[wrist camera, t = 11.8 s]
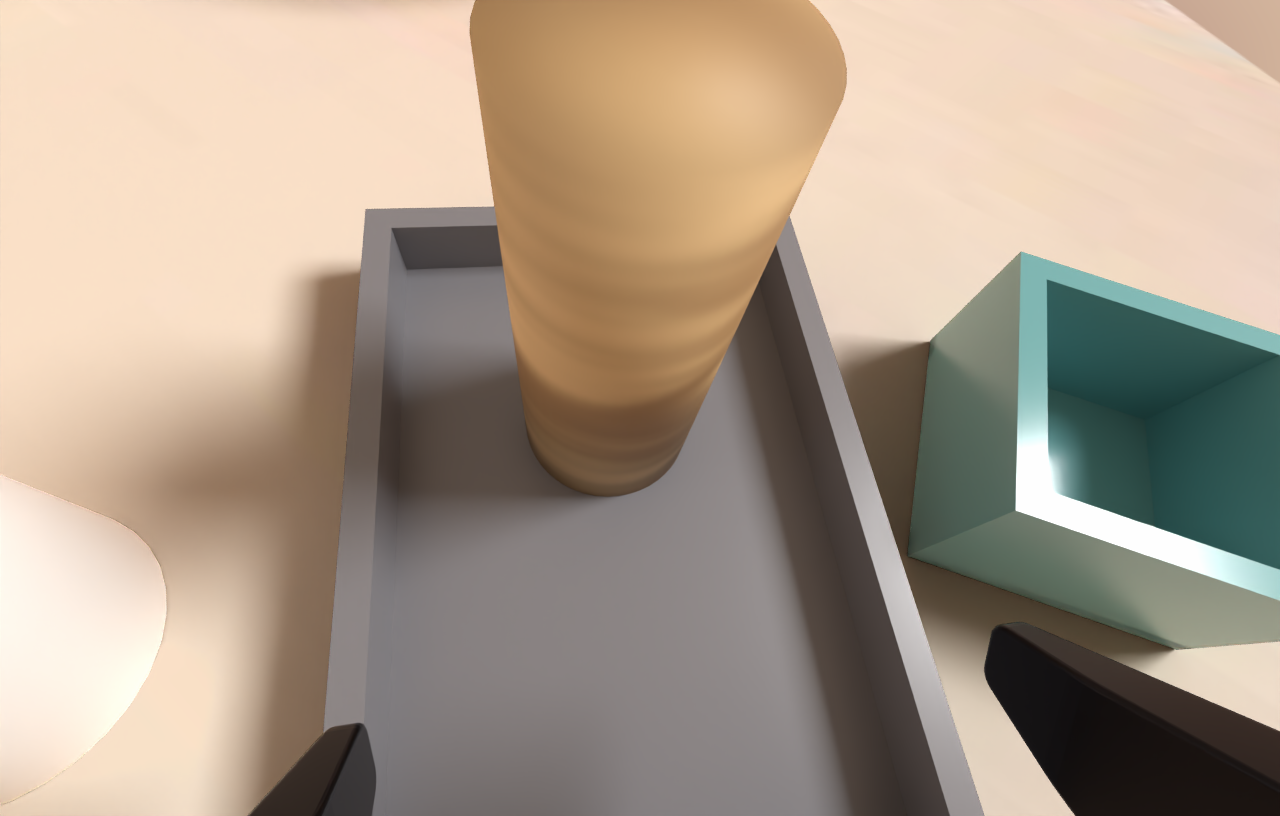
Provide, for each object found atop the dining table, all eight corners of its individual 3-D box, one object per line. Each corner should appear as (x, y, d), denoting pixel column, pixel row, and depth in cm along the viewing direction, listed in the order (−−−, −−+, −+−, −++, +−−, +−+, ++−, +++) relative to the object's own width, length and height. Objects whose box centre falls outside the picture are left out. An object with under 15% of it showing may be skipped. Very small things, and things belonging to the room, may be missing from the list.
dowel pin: (623, 530, 17) (721, 241, 6) (491, 431, 18) (382, 32, 7) (714, 409, 19) (905, 40, 8) (593, 326, 20) (625, -104, 9)
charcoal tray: (940, 877, 15) (1016, 912, 12) (348, 1010, 13) (294, 1087, 10) (761, 254, 23) (784, 200, 21) (389, 267, 21) (365, 209, 19)
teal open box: (1176, 649, 18) (1376, 633, 14) (907, 555, 18) (1016, 510, 14) (1152, 414, 22) (1301, 341, 18) (930, 340, 22) (1020, 251, 18)
